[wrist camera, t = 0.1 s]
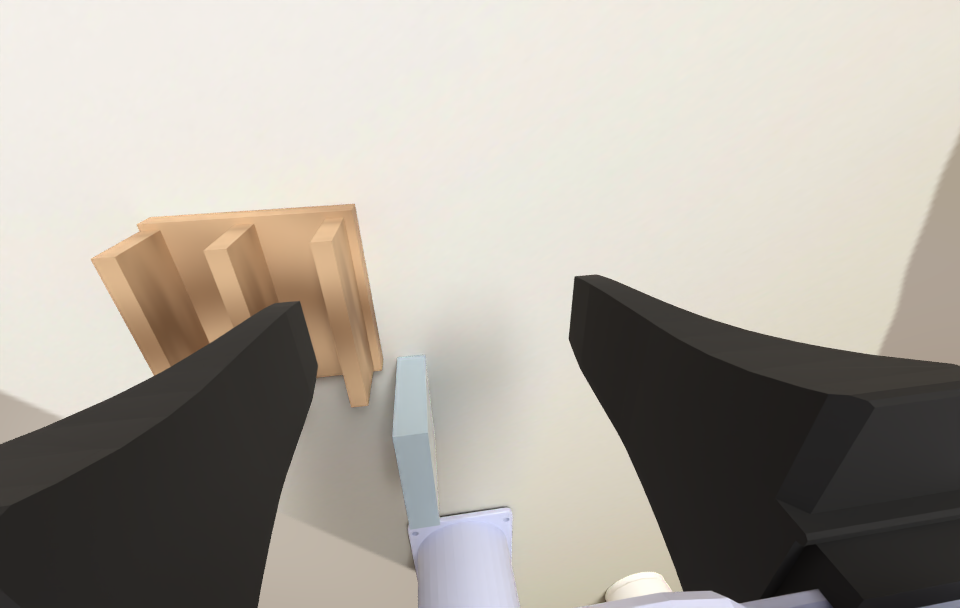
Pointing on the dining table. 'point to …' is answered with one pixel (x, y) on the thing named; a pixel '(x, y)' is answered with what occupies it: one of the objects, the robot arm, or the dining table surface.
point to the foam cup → (637, 586)
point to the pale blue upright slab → (416, 442)
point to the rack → (248, 284)
